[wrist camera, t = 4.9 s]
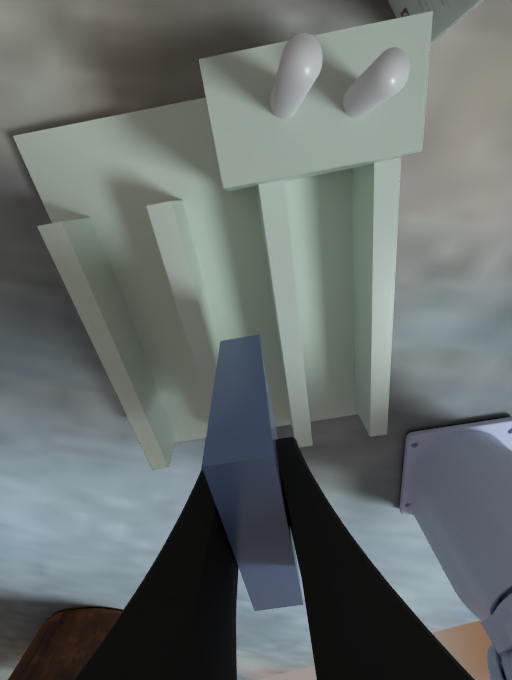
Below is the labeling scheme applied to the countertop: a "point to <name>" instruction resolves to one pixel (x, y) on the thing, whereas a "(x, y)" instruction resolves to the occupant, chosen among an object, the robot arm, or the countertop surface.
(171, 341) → the dish rack
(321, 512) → the robot arm
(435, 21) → the supplement box
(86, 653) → the brown covered basket
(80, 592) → the countertop surface
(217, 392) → the slate blue tile
